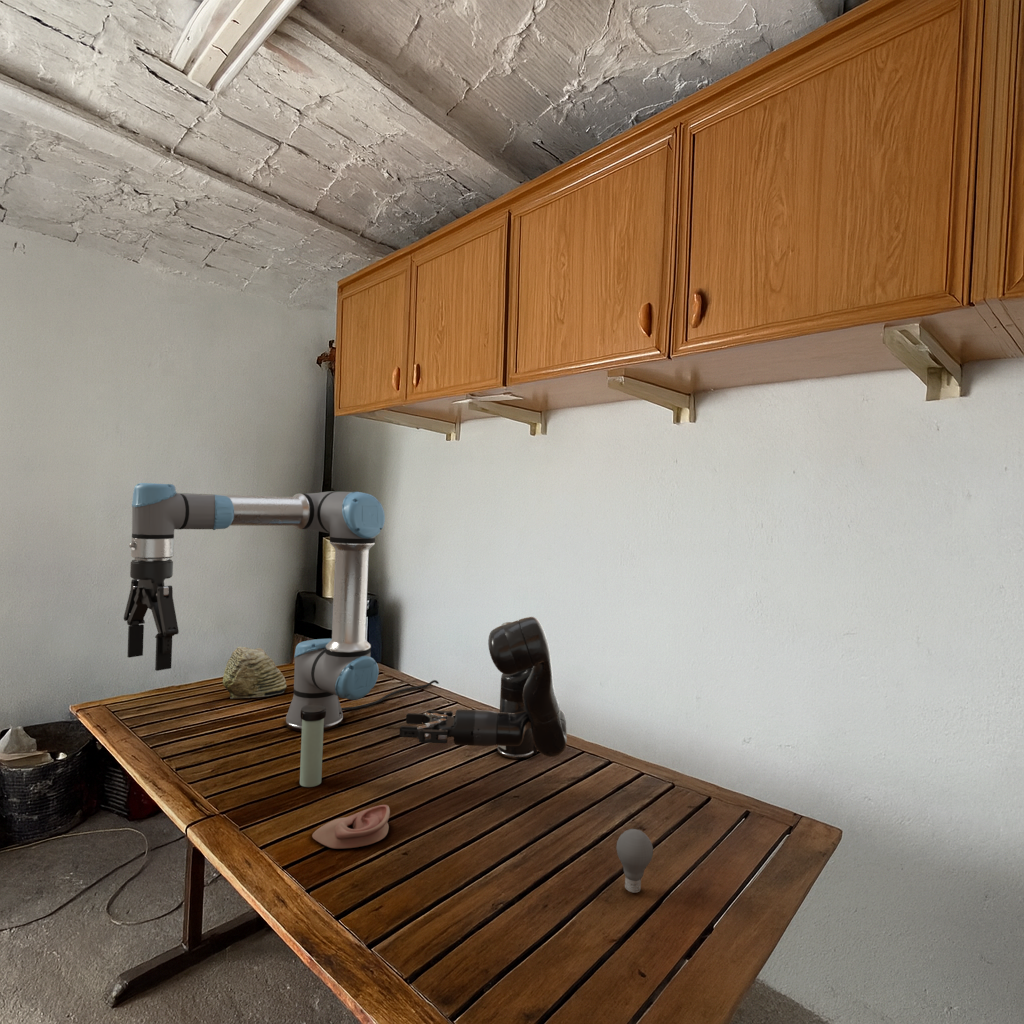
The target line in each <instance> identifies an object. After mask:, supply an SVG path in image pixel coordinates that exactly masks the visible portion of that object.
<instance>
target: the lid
mask: <svg viewBox="0 0 1024 1024" xmlns="http://www.w3.org/2000/svg"><path fill="white" fill-rule="evenodd" d="M325 715H326V707H325V706H323V705H307V706H304V707H302V708H301V716H300V717H301V719H302V720H305V721H317V720H321V719H323V718H325Z"/></svg>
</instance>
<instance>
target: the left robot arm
mask: <svg viewBox="0 0 1024 1024" xmlns="http://www.w3.org/2000/svg"><path fill="white" fill-rule="evenodd" d="M385 515H386V513H385V511H384V508H383V505H382V503H381V502H380V501H379V500H378V498H377V497H375V495H373V494H370V493H367V492H363V491H362V492H361V491H337V490H336V491H335V490H333V491H332V490H330V491H321V492H311V493H295V494H294V495H293V496H276V495H275V496H274V495H273V496H272V495H248V494H247V495H246V494H244V495H243V494H220V493H219V494H218V493H217V494H216V493H215V494H214V493H189V492H187V493H186V492H177V491H176V486H175V485H174V484H173V483H152V482H139V483H137V484H136V485H135V486H134V488H133V492H132V501H131V520H132V521H131V542H130V543H128V547H129V548H130V549H131V550H130V556H131V558H133V559H132V560H131V561H130V567H129V568H130V571H129V574H130V575H129V576H130V578H131V581H130V590H129V594H128V598H127V603H126V607H125V610H124V615H123V621H124V622H126V624H127V626H128V629H127V630H128V631H127V658H135V657H142V656H144V635H145V634H144V630H145V625H144V624H145V623H146V621H145V619H144V618H145V616H146V615H147V612H148V609H149V610H151V613H152V618H153V620H154V624H155V627H156V631H157V633H156V635H155V636H154V638H155V661H154V663H155V665H154V668H155V669H154V670H155V671H157V672H159V671H164V670H169V669H172V659H173V657H172V655H173V637H175V636H176V635H179V632H180V631H179V625H178V619H177V615H176V614H177V613H176V609H175V603H174V597H173V595H174V593H173V585H165V580H167V579H171V578H172V577H173V575H174V573H173V572H174V561H173V560H172V559H171V558H173V557H174V554H175V553H174V552H175V530H213V531H215V530H224V529H228V528H230V526H233V527H234V526H237V527H238V526H240V527H243V526H246V527H247V526H249V527H250V526H258V527H259V526H268V527H269V526H276V527H277V526H282V527H284V526H285V527H286V526H287V527H288V526H289V527H290V526H291V527H293V528H294V529H296V530H308V531H309V530H310V531H316V532H319V533H325V534H329V544H330V545H331V546H332V547H333V548H334V550H335V551H334V572H333V573H334V577H333V599H332V625H331V626H332V627H331V638H317V639H308V640H304V641H300V642H299V643H297V645H296V646H295V650H294V655H293V657H294V672H293V673H294V674H293V695H292V696H293V697H292V699H291V702H290V704H289V708H288V711H287V713H286V715H285V726H286V728H287V729H289V730H291V731H294V732H295V731H296V732H301V733H302V719H301V717H300V716H301V708H302V707H304V706H307V705H323V706H325V707H326V715H325V718H324V729H323V732H325V731H329V730H332V729H335V728H337V727H339V726H340V725H342V723H343V722H344V714H343V711H351V710H352V711H353V710H357V709H358V710H359V709H364V708H367V707H370V706H371V707H372V706H374V705H377V704H379V703H381V702H383V701H384V700H385V699H387V698H389V697H392V696H394V695H396V694H399V693H403V692H407V691H411V690H418V689H423V688H428V687H429V686H431V685H433V684H434V683H435V684H437V685H439V684H440V682H439V681H438V680H436V679H433V680H431V681H430V682H428V683H426V684H423V685H417V686H416V685H415V686H411V687H404V688H402V689H398V690H394V691H392V692H390V693H388V694H385V695H383V696H382V697H381V698H379V699H377V700H375V701H372V702H368V703H364V704H361V705H355V706H346V707H345V706H344V707H342V706H341V702H340V699H339V698H341V699H342V700H343V699H344V700H348V701H349V700H350V701H357V700H360V699H362V698H364V697H365V696H367V695H368V694H370V692H371V690H372V689H374V687H375V685H376V683H377V682H378V678H379V674H380V672H379V671H380V670H379V669H380V668H379V665H378V663H377V662H376V660H375V659H374V657H371V652H372V649H371V648H372V644H371V643H370V642H368V640H367V639H366V631H367V607H368V606H367V605H368V604H367V602H368V582H369V581H368V579H369V555H370V553H369V552H370V550H371V548H372V547H374V545H375V544H376V536H378V535H379V534H380V533H381V530H383V528H384V526H385V522H386V521H385V520H386V516H385Z"/></svg>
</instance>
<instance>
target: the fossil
mask: <svg viewBox="0 0 1024 1024" xmlns="http://www.w3.org/2000/svg"><path fill="white" fill-rule="evenodd" d="M222 676H223V677H222V685H223V687H224V688H225V690H226V691H228V693H229V698H230V699H250V698H264V697H271V696H275V695H281V694H284V693H285V691H286V689H287V687H288V686H287V680H286V678H285V676H284V674H283V673H282V672H281V669H279V668H278V667H277V665H276V663H275V662H274V660H273V659H272V658H271V657H270V656H269V655H268V654H267V653H266V652H265V650H264V649H263V648H260V647H258V648H251V647H247V646H246V647H245V646H238V647H237V648H236V649H235V650H233V651H232V653H231V656H230V657H229V659H228V660H227V663H226V666H225V668H224V671H223V675H222Z"/></svg>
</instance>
